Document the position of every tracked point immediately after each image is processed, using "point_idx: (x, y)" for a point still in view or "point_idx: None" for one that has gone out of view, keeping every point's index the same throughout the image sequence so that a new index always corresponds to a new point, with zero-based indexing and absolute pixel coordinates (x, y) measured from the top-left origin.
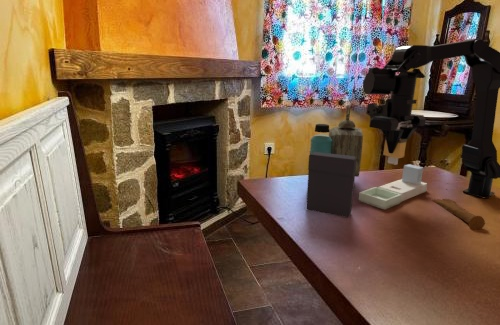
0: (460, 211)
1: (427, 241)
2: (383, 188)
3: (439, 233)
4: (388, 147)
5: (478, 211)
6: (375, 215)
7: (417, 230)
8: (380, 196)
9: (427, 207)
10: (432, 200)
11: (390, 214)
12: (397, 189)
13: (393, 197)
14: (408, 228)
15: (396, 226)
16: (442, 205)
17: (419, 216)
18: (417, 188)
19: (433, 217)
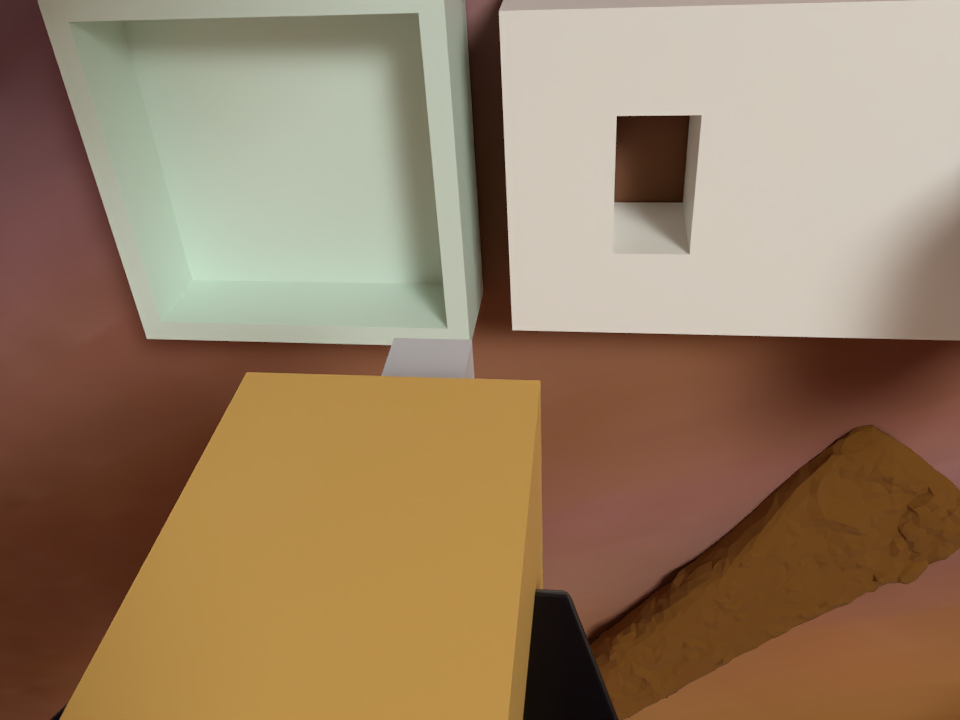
0: None
1: (71, 631)
2: (504, 85)
3: None
4: None
5: (844, 690)
6: (17, 302)
7: (130, 565)
8: (418, 84)
9: (602, 470)
10: (841, 438)
11: (160, 362)
12: (609, 234)
13: (306, 338)
14: (97, 527)
15: (39, 476)
16: (730, 541)
17: None
18: (922, 330)
19: None
